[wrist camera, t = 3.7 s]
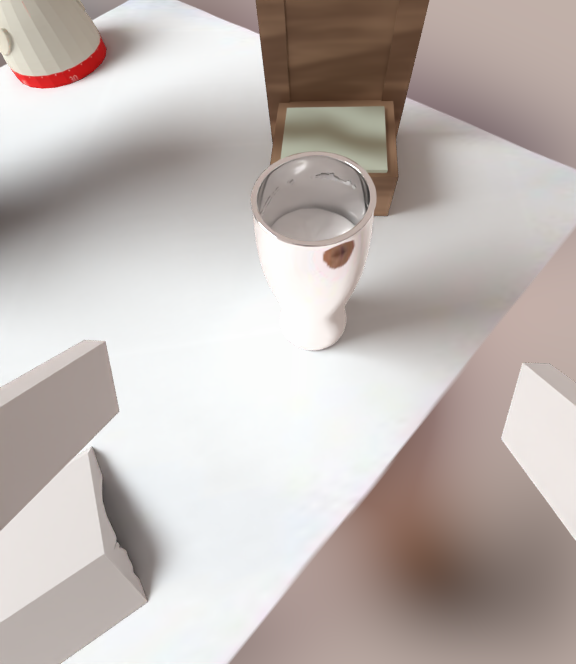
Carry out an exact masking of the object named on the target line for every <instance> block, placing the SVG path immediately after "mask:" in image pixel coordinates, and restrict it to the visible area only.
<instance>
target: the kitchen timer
mask: <svg viewBox="0 0 576 664" xmlns="http://www.w3.org/2000/svg"><path fill="white" fill-rule="evenodd" d="M0 52H1V53H2V55H3V57H4V59H5V61H6V62H7V64H8V65H9V67H10V68H11V70H12V71H13V72H14V74H15V75H16V76H17V78H18V79H19V80H20V81H21V82H22V83H23V84H25V85H28V86H30V87H35V88H55V87H59V86H63V85H67V84H71V83H73V82H75V81H78V80H80V79H82V78H84V77H85V76H87V75H89V74H90V73H92V72H93V71H94V70H95V69H96V68H97V67H98V66H99V65H100V64H101V63H102V61H103V60H104V58H105V56H106V47H105V45H104V42H103V40H102V38H101V36H100V34H99V32H98V30H97V28H96V26H95V25H94V23H93V21H92V20H91V18H90V17H89V16H88V14H87V13H86V12H85V8H84V6H83V4H82V2H81V1H80V0H0Z"/></svg>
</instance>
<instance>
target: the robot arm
mask: <svg viewBox="0 0 576 664" xmlns="http://www.w3.org/2000/svg"><path fill="white" fill-rule="evenodd" d="M118 412H119V406H118V401H117V396H116V391H115V386H114V381H113V376H112V371H111V366H110V361H109V356H108V351H107V346H106V341H92V340H83V341H81V342H80V343H78V344H76V345H74V346H73V347H71V348H69V349H67V350H66V351H64V352H62V353H60V354H59V355H57V356H55V357H53V358H51V359H50V360H48V361H46V362H44V363H43V364H41V365H39V366H37V367H36V368H34V369H32V370H30V371H29V372H27V373H25V374H23V375H21V376H20V377H18V378H16V379H14V380H13V381H11V382H9V383H7V384H6V385H4V386H2V387H0V531H1V530H2V529H3V528H4V527H5V526H6V525H7V524H8V523H9V522H10V521H11V520H12V519H13V518H14V517H15V516H16V515H17V514H18V513H19V512H20V511H21V510H22V509H23V508H24V507H25V506H26V505H27V504H28V503H29V502H30V501H31V500H32V499H33V498H34V497H35V496H36V495H37V494H38V493H39V492H40V491H41V490H42V489H43V488H44V487H45V486H46V485H47V484H48V483H49V482H50V481H51V480H52V479H53V478H54V477H55V476H56V475H57V474H58V473H59V472H60V471H61V470H62V469H63V468H64V467H65V466H66V465H67V464H68V463H69V462H70V461H71V460H72V459H73V458H74V457H75V456H76V455H77V454H78V453H79V452H80V451H81V450H82V449H83V448H84V447H85V446H86V444H87V443H88V442H89V441H90V440H91V439H92V438H93V437H94V436H95V435H96V434H97V433H98V432H99V431H100V430H101V429H102V428H103V427H104V426H105V425H106V424H107V423H108V422H109V421H110V420H111V419H112V418H113V417H114V416H115V415H116V414H117V413H118ZM501 439H502V441H503V442H504V443H505V445H506V446H507V448H508V449H509V450H510V452H511V453H512V455H513V456H514V457H515V459H516V460H517V461H518V463H519V464H520V465H521V467H522V468H523V470H524V471H525V472H526V474H527V475H528V476H529V478H530V479H531V480H532V482H533V483H534V485H535V486H536V487H537V489H538V490H539V491H540V492H541V494H542V495H543V497H544V498H545V500H546V501H547V502H548V504H549V505H550V506H551V507H552V509H553V510H554V512H555V513H556V515H557V516H558V517H559V519H560V520H561V521H562V523H563V524H564V525H565V527H566V528H567V530H568V531H569V532H570V534H571V535H572V536H573V538H574V539H575V540H576V382H575V381H573V380H572V379H570V378H569V377H568V376H566V375H565V374H563V373H562V372H561V371H559V370H558V369H557V368H555V367H554V366H553V365H551V364H545V363H524V362H523V363H522V366H521V370H520V373H519V377H518V380H517V384H516V388H515V391H514V394H513V398H512V402H511V405H510V409H509V412H508V416H507V419H506V423H505V426H504V430H503V433H502V437H501Z"/></svg>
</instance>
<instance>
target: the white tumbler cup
mask: <svg viewBox="0 0 576 664" xmlns="http://www.w3.org/2000/svg"><path fill="white" fill-rule="evenodd" d="M375 206H376V189H375V186H374V183H373V181H372V179H371V177H370V176H369V174H368V173H367V172H366V171H365V170H364V169H363V168H362V167H361V166H360V165H359V164H357V163H356V162H354V161H353V160H351V159H349V158H347V157H344V156H341V155H338V154H335V153H330V152H321V151H311V152H302V153H297V154H293V155H290V156H287V157H285V158H282V159H280V160H278V161H277V162H275V163H273V164H272V165H271V166H269V167H268V168H267V169H266V170H265V171H264V172H263V173H262V174H261V175H260V176H259V178H258V179H257V181H256V182H255V184H254V187H253V189H252V193H251V209H252V213H253V221H254V231H255V239H256V245H257V250H258V256H259V260H260V263H261V267H262V270H263V273H264V276H265V278H266V280H267V282H268V284H269V287H270V288H271V290H272V292H273V294H274V295H275V297H276V299H277V300H278V302H279V304H280V305H281V312H280V326H281V330H282V332H283V334H284V336H285V337H286V338H287V340H288V341H289V342H290V343H292V344H293V345H295V346H296V347H298V348H301V349H304V350H312V351H315V350H322V349H325V348H327V347H330V346H331V345H333V344H334V343H336V342H337V341H338V340H339V339H340V337H341V336H342V334H343V332H344V330H345V327H346V312H345V305H346V303H347V302H348V300H349V298H350V297H351V295H352V293H353V292H354V290H355V288H356V286H357V284H358V282H359V280H360V278H361V276H362V273H363V271H364V267H365V264H366V261H367V257H368V253H369V247H370V242H371V236H372V228H373V218H374V210H375Z"/></svg>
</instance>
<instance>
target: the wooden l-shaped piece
mask: <svg viewBox="0 0 576 664" xmlns="http://www.w3.org/2000/svg"><path fill="white" fill-rule="evenodd" d="M428 3H429V0H256V8H257V16H258V24H259V33H260V41H261V50H262V58H263V66H264V75H265V83H266V92H267V100H268V108H269V117H270V125H271V134H272V142H273V148H272V155H271V162H270V166H271V165H272V164H273V163H275V162H277V161H278V160H280V159H282V158H285V157H287V156H290V155H293V154H297V153H302V152H311V151H321V152H330V153H335V154H338V155H341V156H344V157H347V158H349V159H351V160H353V161H354V162H356V163H357V164H359V165H360V166H361V167H362V168H363V169H364V170H365V171H366V172H367V173H368V174H369V176H370V177H371V179H372V181H373V183H374V186H375V189H376V206H375V210H374V216H388V212H389V208H390V205H391V201H392V198H393V194H394V191H395V187H396V183H397V180H398V165H397V149H396V136H397V132H398V128H399V124H400V120H401V116H402V112H403V107H404V103H405V99H406V95H407V91H408V87H409V83H410V78H411V74H412V70H413V66H414V62H415V58H416V53H417V49H418V45H419V41H420V37H421V33H422V28H423V25H424V20H425V16H426V12H427V8H428Z"/></svg>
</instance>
